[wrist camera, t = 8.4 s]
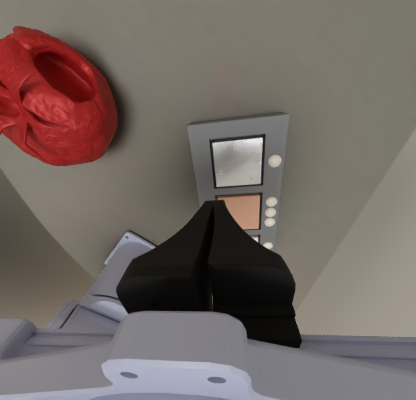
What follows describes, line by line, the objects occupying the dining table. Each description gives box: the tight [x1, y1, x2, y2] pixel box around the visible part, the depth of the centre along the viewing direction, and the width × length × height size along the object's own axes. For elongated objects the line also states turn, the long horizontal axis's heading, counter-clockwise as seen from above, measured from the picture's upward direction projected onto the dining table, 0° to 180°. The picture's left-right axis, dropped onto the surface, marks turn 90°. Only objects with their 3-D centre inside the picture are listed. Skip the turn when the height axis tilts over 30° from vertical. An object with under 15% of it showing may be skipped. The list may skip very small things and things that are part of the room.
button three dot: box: [218, 192, 260, 229], centre depth 21 cm, size 5×5×2 cm
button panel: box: [187, 112, 290, 252], centre depth 21 cm, size 20×9×3 cm, turn 6°
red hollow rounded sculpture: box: [0, 26, 118, 166], centre depth 14 cm, size 10×10×9 cm
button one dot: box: [213, 135, 263, 187], centre depth 18 cm, size 5×5×2 cm
